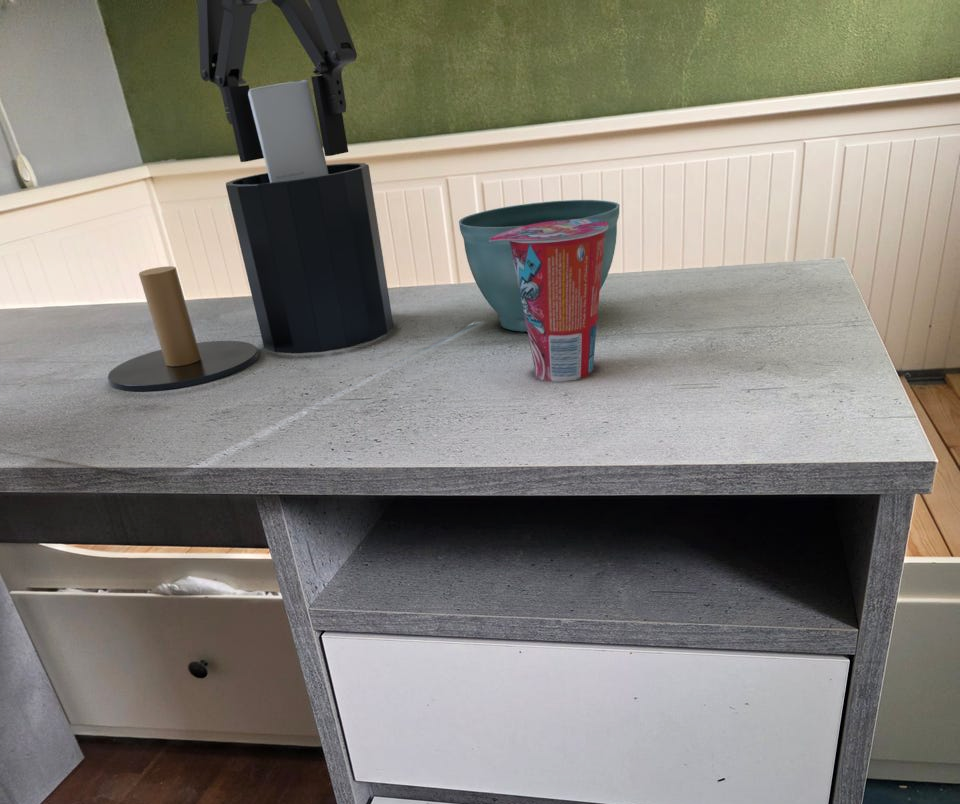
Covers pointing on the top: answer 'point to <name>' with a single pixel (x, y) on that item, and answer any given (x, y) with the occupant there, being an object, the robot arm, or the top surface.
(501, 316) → the flower pot
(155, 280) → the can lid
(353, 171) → the trash can
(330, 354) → the top surface
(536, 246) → the cup
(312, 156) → the cosmetic box
